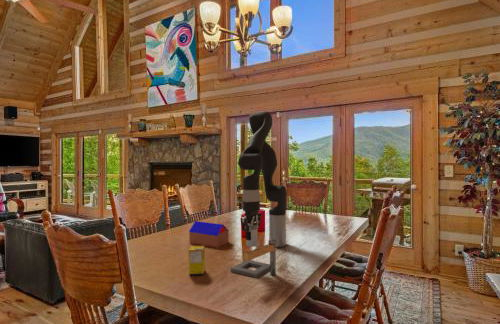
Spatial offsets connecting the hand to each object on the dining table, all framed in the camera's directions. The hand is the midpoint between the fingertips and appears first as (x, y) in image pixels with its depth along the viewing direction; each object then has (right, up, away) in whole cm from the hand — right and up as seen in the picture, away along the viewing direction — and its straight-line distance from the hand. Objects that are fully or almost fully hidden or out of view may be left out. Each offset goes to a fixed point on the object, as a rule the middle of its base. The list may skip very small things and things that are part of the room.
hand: (251, 238), depth 136 cm
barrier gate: (+4, -14, -11) cm, 18 cm away
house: (-24, -14, +44) cm, 52 cm away
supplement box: (-23, -14, -3) cm, 27 cm away
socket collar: (0, -14, 0) cm, 14 cm away
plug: (0, -3, 0) cm, 3 cm away
